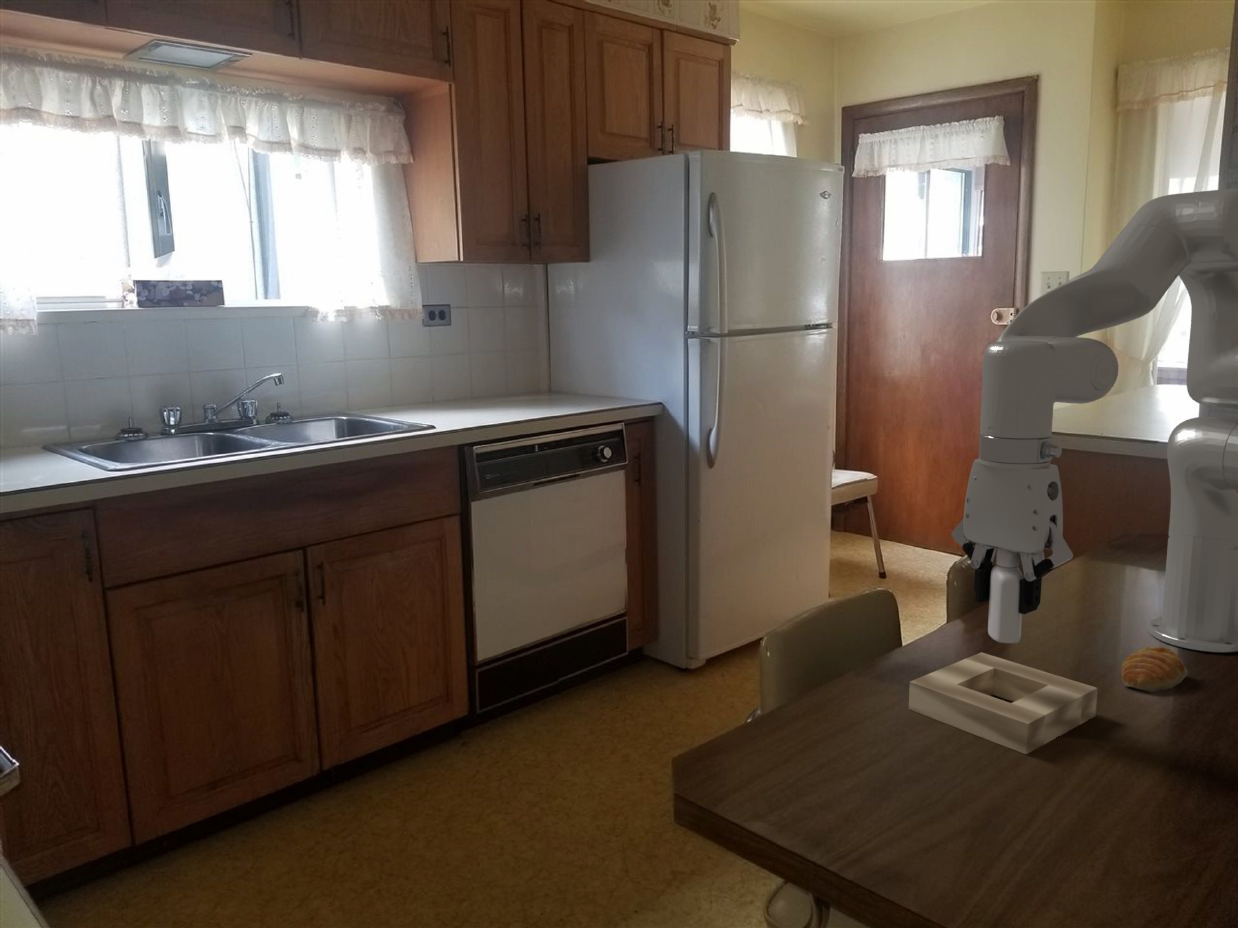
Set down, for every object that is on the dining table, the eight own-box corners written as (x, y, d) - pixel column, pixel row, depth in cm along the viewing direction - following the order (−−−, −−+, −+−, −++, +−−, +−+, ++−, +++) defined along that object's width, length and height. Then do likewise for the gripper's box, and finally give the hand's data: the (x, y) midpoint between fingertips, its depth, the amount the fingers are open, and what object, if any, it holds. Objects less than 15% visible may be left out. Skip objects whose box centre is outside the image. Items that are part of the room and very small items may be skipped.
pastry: (1165, 701, 116) (1167, 671, 116) (1106, 686, 121) (1108, 657, 121) (1189, 679, 123) (1191, 650, 122) (1132, 666, 128) (1134, 638, 127)
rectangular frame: (980, 677, 124) (981, 652, 123) (1095, 716, 112) (1097, 687, 112) (908, 709, 115) (909, 681, 114) (1026, 754, 103) (1027, 723, 103)
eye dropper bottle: (1031, 633, 113) (1036, 534, 111) (1014, 646, 108) (1020, 543, 106) (993, 625, 115) (998, 529, 113) (976, 638, 111) (980, 538, 109)
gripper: (1106, 456, 104) (1094, 617, 107) (966, 439, 117) (960, 583, 120) (1070, 463, 99) (1059, 631, 102) (929, 446, 113) (924, 595, 116)
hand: (1006, 604), depth 111 cm, fingers closed on eye dropper bottle, 4 cm apart
